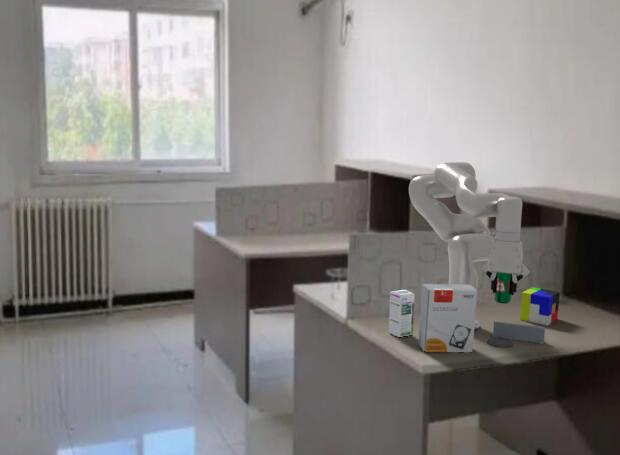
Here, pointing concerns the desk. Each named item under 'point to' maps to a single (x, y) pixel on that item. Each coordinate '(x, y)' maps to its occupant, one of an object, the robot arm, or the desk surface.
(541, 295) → the puzzle toy
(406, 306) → the syrup box
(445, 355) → the desk surface
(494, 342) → the coaster
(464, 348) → the hard drive box
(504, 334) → the divider
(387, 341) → the desk surface
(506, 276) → the soda can
